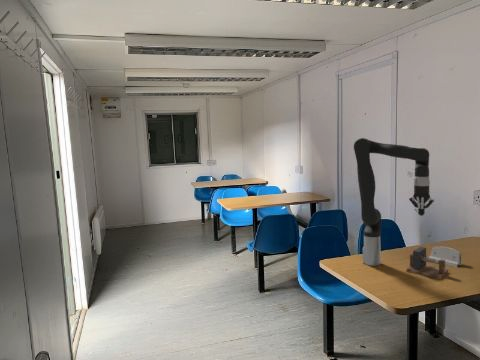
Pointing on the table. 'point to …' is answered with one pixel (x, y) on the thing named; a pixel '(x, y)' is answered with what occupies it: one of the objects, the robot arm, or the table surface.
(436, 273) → the pipe stand
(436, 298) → the table surface
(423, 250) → the collar
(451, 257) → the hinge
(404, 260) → the table surface
